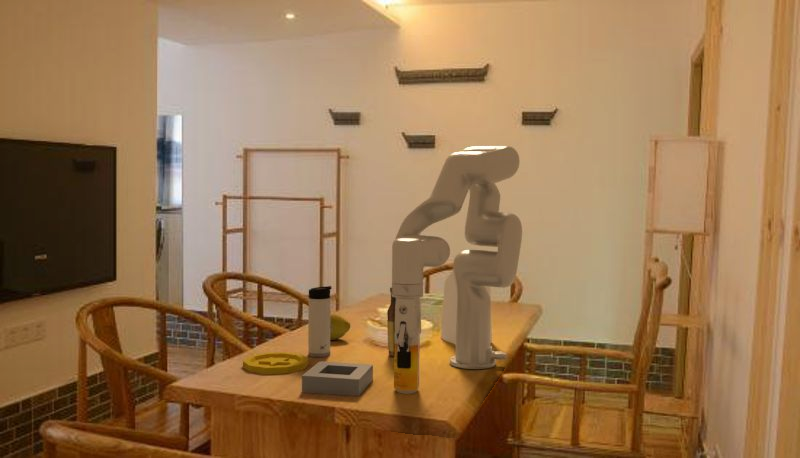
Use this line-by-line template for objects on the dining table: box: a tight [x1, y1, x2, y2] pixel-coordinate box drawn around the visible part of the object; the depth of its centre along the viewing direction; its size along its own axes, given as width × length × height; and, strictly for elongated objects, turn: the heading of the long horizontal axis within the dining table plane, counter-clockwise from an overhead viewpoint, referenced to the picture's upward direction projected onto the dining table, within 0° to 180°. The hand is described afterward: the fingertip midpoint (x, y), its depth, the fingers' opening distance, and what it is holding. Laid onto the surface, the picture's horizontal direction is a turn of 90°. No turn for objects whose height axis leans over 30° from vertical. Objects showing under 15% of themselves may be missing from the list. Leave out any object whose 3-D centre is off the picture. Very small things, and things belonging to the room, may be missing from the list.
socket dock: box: [301, 360, 374, 397], centre depth 179 cm, size 14×14×4 cm
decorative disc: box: [242, 351, 309, 375], centre depth 198 cm, size 17×18×2 cm
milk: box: [440, 270, 493, 346], centre depth 230 cm, size 12×12×26 cm
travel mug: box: [307, 285, 333, 358], centre depth 210 cm, size 6×7×20 cm
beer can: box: [393, 333, 421, 395], centre depth 175 cm, size 6×6×15 cm
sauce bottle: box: [386, 286, 396, 358], centre depth 210 cm, size 6×6×20 cm
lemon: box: [330, 313, 351, 341], centre depth 230 cm, size 11×8×8 cm
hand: (406, 363), depth 176 cm, fingers closed on beer can, 6 cm apart
